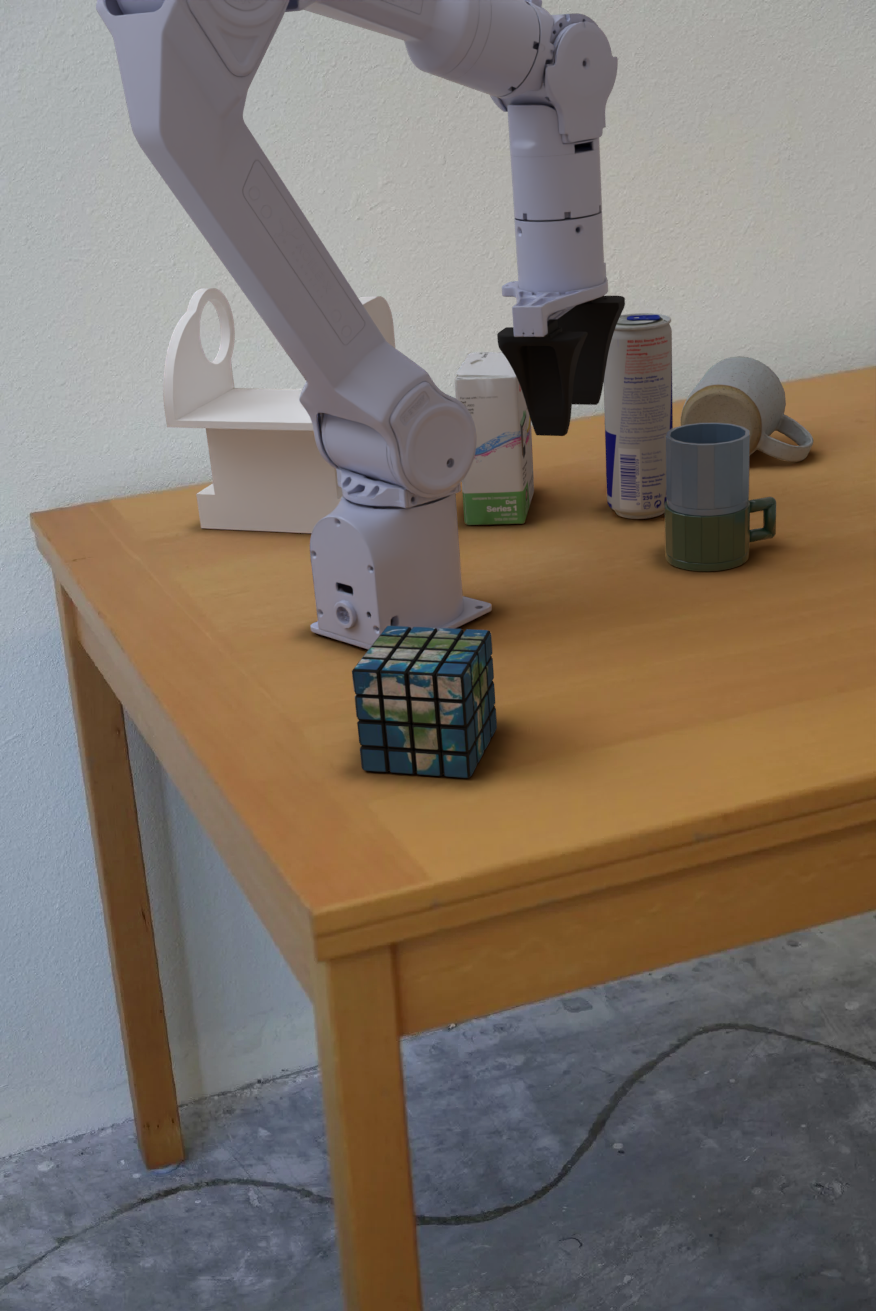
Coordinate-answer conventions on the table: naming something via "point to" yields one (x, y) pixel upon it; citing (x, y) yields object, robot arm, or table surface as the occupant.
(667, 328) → the beverage can
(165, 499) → the table surface
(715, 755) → the table surface
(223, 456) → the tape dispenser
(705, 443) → the blue cup
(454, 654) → the puzzle
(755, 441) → the ceramic mug
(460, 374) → the ink box
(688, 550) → the green mug
